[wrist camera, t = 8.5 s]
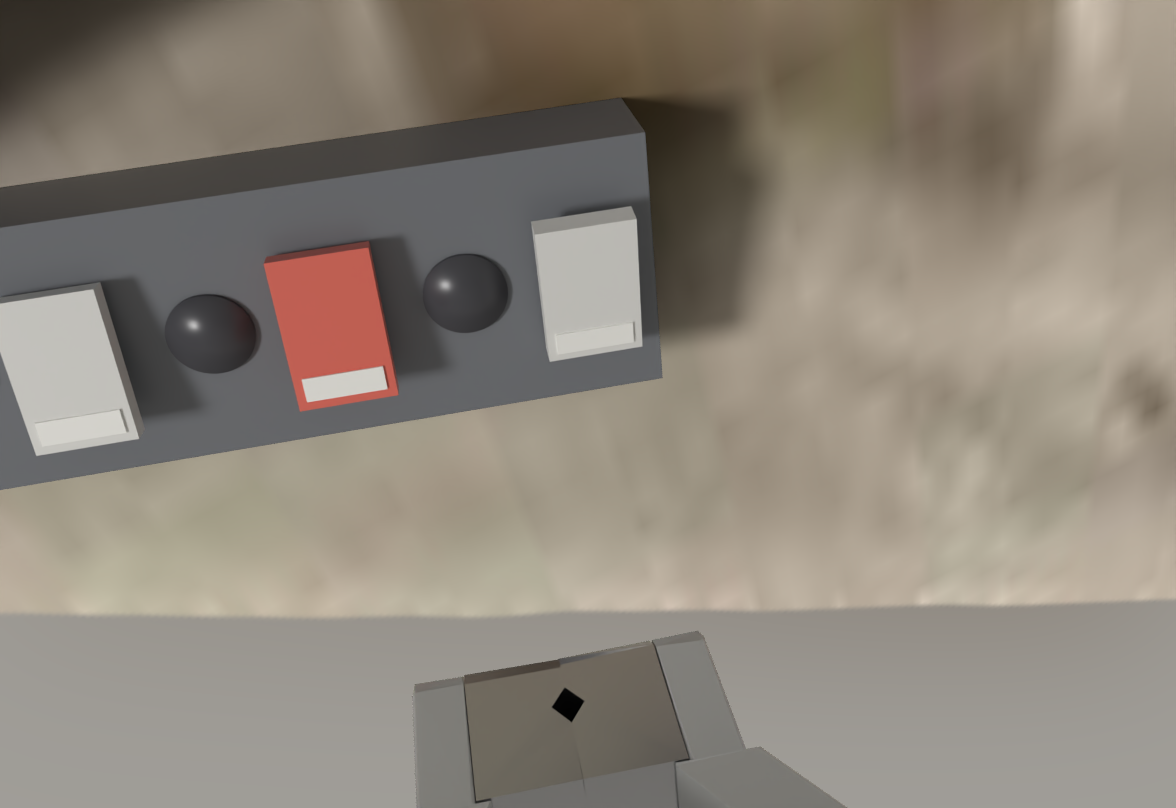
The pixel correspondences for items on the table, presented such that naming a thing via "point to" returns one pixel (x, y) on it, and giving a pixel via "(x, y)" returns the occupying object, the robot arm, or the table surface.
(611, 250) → the rocker
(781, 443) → the table surface
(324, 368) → the rocker middle
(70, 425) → the rocker
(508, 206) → the strip housing
